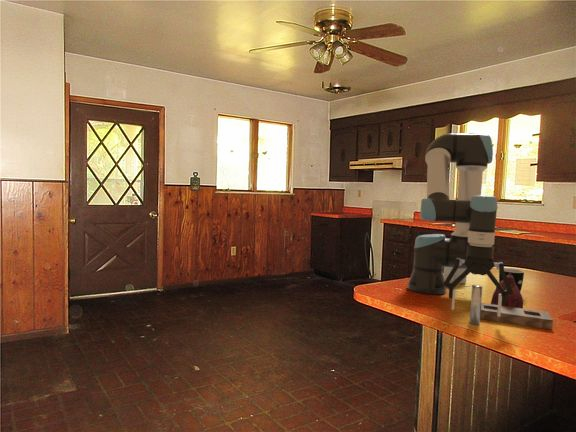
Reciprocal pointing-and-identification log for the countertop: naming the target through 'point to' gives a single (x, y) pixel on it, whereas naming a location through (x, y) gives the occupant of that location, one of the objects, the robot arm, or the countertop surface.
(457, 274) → the supplement box
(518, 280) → the mug
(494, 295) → the vegetable
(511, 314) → the board
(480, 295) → the pin
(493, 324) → the countertop surface
